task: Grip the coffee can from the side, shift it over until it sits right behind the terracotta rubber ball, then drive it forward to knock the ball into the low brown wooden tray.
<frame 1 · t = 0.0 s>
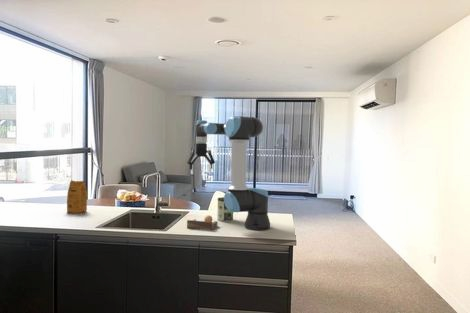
hand: (201, 174, 243), 28 cm above the counter, tool pointing down, fingers open, 13 cm apart
brown wooden tray: (202, 226, 208), on the counter
ball: (208, 219, 217), point 2 cm above the counter
coffee package: (76, 212, 246), on the counter
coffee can: (225, 220, 227), on the counter
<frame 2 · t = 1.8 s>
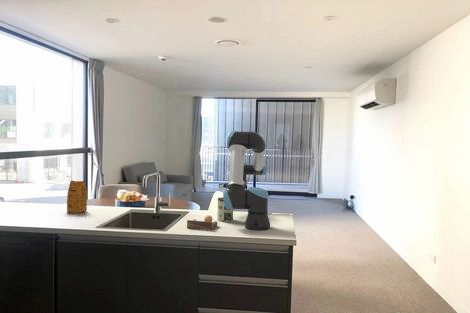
hand: (229, 188, 236), 20 cm above the counter, tool horizontal, fingers open, 13 cm apart
nothing on the counter moved.
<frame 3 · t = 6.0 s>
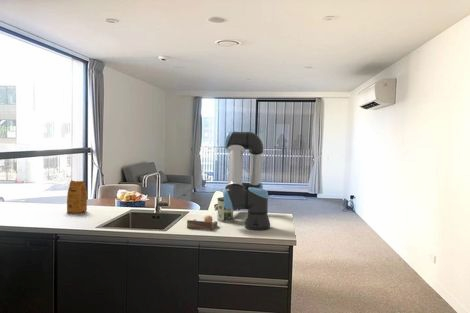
hand: (223, 209, 223), 8 cm above the counter, tool horizontal, fingers closed on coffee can, 10 cm apart
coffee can: (225, 220, 227), on the counter, touching gripper
everything else where it was.
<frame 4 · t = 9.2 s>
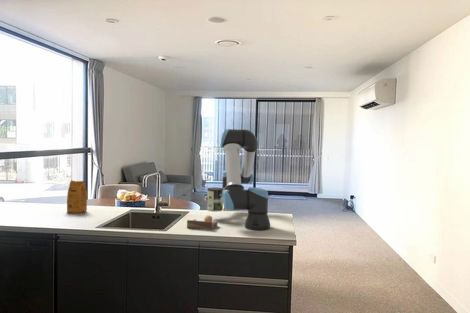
hand: (213, 199, 225), 14 cm above the counter, tool horizontal, fingers closed on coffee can, 10 cm apart
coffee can: (214, 210, 229), point 6 cm above the counter, touching gripper
everything else where it was.
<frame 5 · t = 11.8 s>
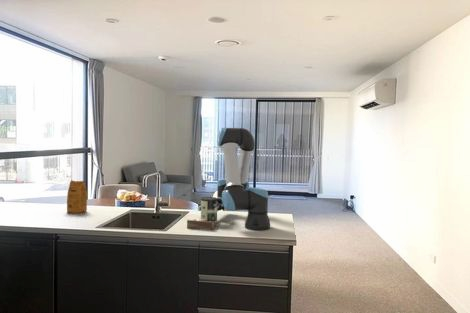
hand: (206, 209, 214), 9 cm above the counter, tool horizontal, fingers closed on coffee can, 10 cm apart
ball: (201, 223, 206), point 2 cm above the counter, tilted 108°
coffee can: (208, 221, 218), point 1 cm above the counter, touching gripper
everything else where it was.
when the fingers open (8 cm above the counter, at t = 12.8 s): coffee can stays where it is, on the counter.
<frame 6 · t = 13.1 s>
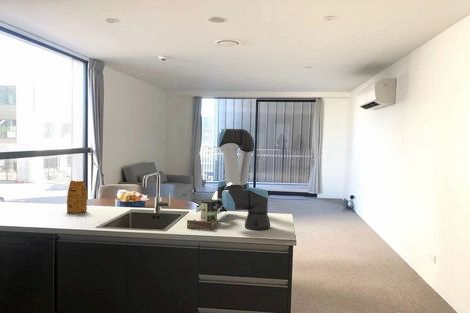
hand: (207, 210, 215), 8 cm above the counter, tool horizontal, fingers open, 13 cm apart
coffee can: (208, 223, 218), on the counter
everything else where it was.
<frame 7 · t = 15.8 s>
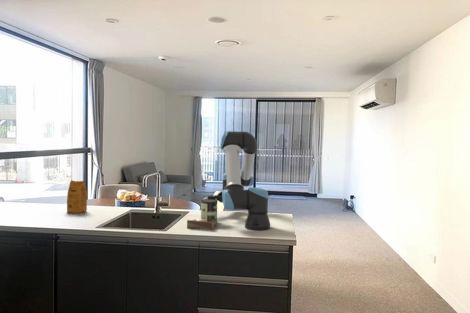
hand: (213, 200, 227), 12 cm above the counter, tool horizontal, fingers open, 13 cm apart
ball: (202, 223, 207), point 2 cm above the counter, tilted 123°
everything else where it was.
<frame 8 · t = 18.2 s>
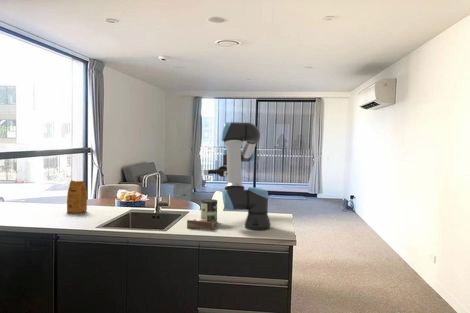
hand: (214, 173, 225), 30 cm above the counter, tool horizontal, fingers open, 13 cm apart
ball: (202, 223, 207), point 2 cm above the counter, tilted 132°
everything else where it was.
at the end: ball 0.9 cm from the brown wooden tray (horizontally); ball point 2.5 cm above the counter; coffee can tilted 0° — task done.
